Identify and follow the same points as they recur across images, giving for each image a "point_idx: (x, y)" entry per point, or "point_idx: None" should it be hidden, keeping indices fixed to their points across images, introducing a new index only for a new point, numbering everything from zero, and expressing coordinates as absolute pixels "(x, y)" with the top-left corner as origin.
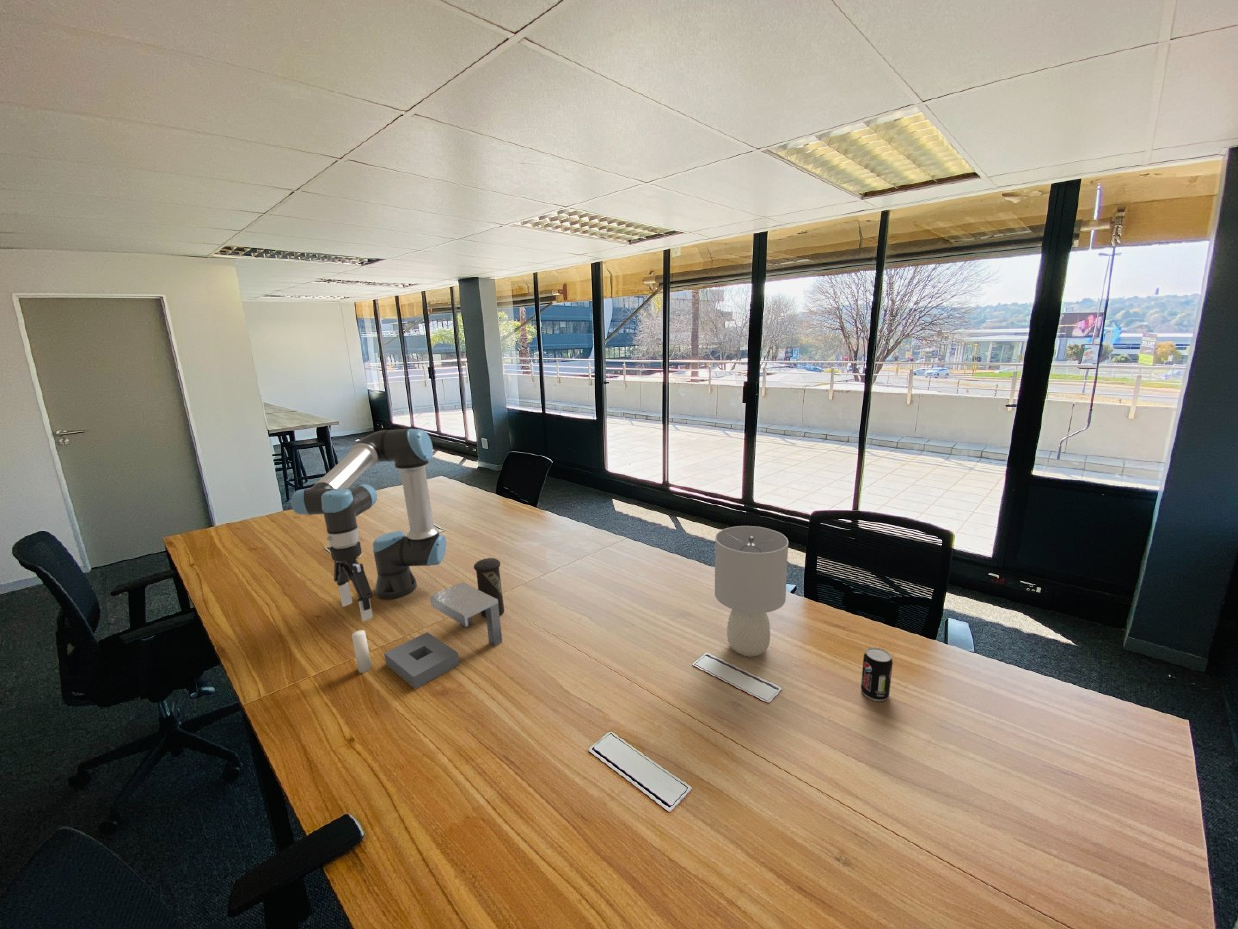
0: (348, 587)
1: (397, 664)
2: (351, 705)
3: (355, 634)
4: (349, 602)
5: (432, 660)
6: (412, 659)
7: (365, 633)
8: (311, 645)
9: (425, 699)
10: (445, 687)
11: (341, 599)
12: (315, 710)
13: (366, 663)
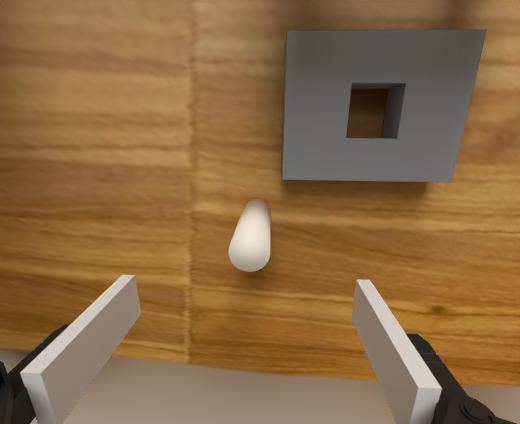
0: (66, 352)
1: (360, 180)
2: (350, 276)
3: (246, 260)
4: (131, 292)
5: (441, 109)
6: (381, 144)
7: (258, 233)
8: (63, 245)
9: (480, 179)
10: (493, 126)
11: (116, 343)
12: (305, 315)
13: (270, 218)
